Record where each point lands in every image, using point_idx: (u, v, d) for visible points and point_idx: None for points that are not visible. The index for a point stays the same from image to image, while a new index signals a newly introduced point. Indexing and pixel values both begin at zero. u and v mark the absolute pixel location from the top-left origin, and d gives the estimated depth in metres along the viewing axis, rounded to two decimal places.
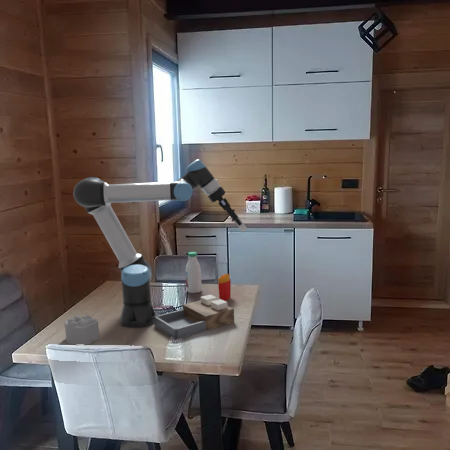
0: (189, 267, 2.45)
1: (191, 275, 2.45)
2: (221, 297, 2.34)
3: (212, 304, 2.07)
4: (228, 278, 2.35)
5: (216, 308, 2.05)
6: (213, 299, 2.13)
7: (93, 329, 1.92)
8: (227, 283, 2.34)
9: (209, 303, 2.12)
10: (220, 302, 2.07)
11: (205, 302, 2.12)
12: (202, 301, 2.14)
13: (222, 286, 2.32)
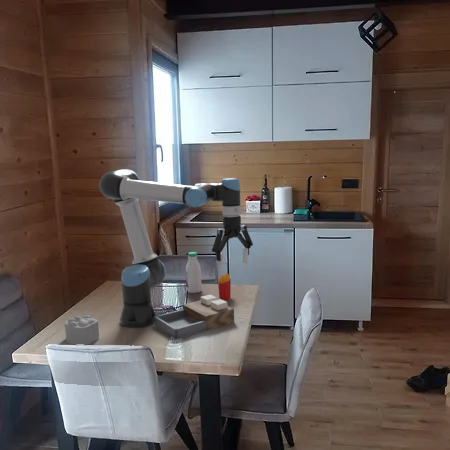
0: (189, 267, 2.45)
1: (191, 275, 2.45)
2: (221, 297, 2.34)
3: (212, 304, 2.07)
4: (228, 278, 2.35)
5: (216, 308, 2.05)
6: (213, 299, 2.13)
7: (93, 329, 1.92)
8: (227, 283, 2.34)
9: (209, 303, 2.12)
10: (220, 302, 2.07)
11: (205, 302, 2.12)
12: (202, 301, 2.14)
13: (222, 286, 2.32)
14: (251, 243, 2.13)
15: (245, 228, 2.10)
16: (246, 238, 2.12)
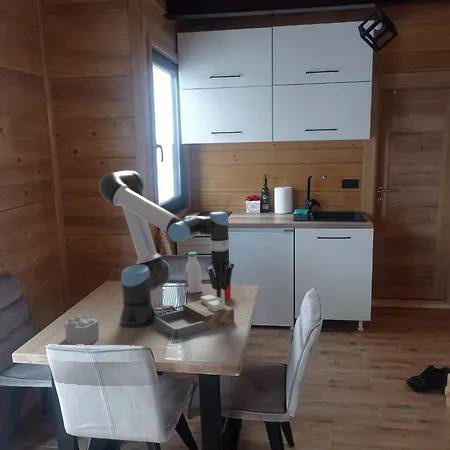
0: (189, 267, 2.45)
1: (191, 275, 2.45)
2: None
3: (208, 305, 2.06)
4: None
5: (213, 309, 2.04)
6: (213, 299, 2.13)
7: (93, 329, 1.92)
8: None
9: None
10: (217, 303, 2.06)
11: (205, 302, 2.12)
12: (202, 301, 2.14)
13: None
14: (228, 284, 2.08)
15: (232, 266, 2.08)
16: (227, 277, 2.09)
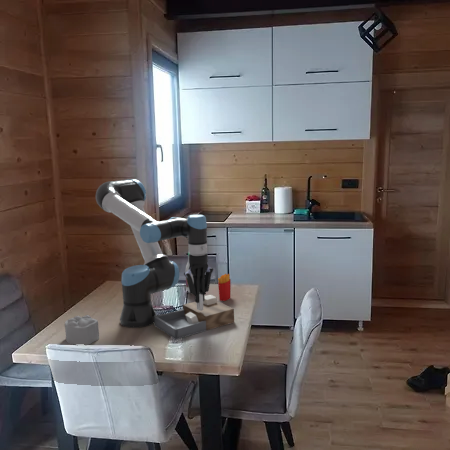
0: None
1: (191, 275, 2.45)
2: (221, 297, 2.34)
3: None
4: (228, 278, 2.35)
5: None
6: (213, 299, 2.13)
7: (93, 329, 1.92)
8: (227, 283, 2.34)
9: (209, 303, 2.12)
10: (191, 322, 1.99)
11: (205, 302, 2.12)
12: None
13: (222, 286, 2.32)
14: (207, 289, 2.02)
15: (211, 271, 2.02)
16: (205, 281, 2.03)
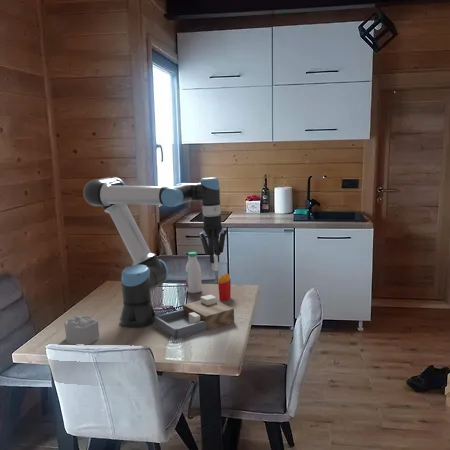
0: (189, 267, 2.45)
1: (191, 275, 2.45)
2: (221, 297, 2.34)
3: None
4: (228, 278, 2.35)
5: None
6: (213, 299, 2.13)
7: (93, 329, 1.92)
8: (227, 283, 2.34)
9: (209, 303, 2.12)
10: (193, 321, 2.00)
11: (205, 302, 2.12)
12: (202, 301, 2.14)
13: (222, 286, 2.32)
14: (222, 250, 2.09)
15: (225, 232, 2.09)
16: (220, 243, 2.10)
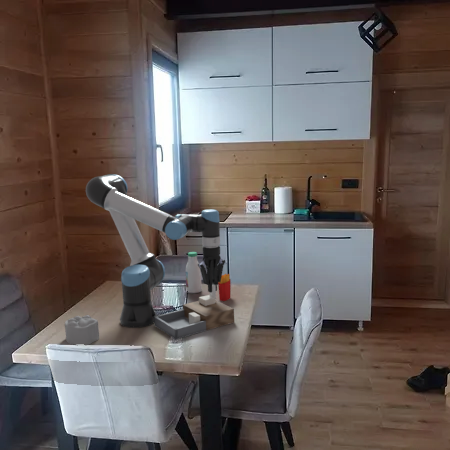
0: (189, 267, 2.45)
1: (191, 275, 2.45)
2: (221, 297, 2.34)
3: None
4: (228, 278, 2.35)
5: None
6: (211, 299, 2.12)
7: (93, 329, 1.92)
8: (227, 283, 2.34)
9: (207, 303, 2.11)
10: (193, 321, 2.00)
11: (203, 303, 2.11)
12: (200, 302, 2.13)
13: (222, 286, 2.32)
14: (219, 279, 2.15)
15: (223, 262, 2.15)
16: (218, 272, 2.16)
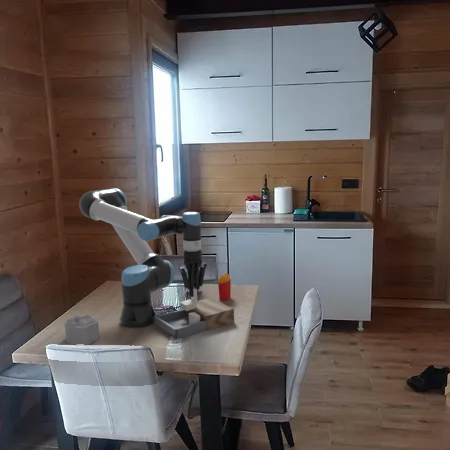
0: None
1: None
2: (221, 297, 2.34)
3: None
4: (228, 278, 2.35)
5: None
6: (193, 304, 2.07)
7: (93, 329, 1.92)
8: (227, 283, 2.34)
9: (189, 308, 2.06)
10: (193, 321, 2.00)
11: (184, 308, 2.06)
12: (181, 307, 2.08)
13: (222, 286, 2.32)
14: (201, 283, 2.10)
15: (205, 266, 2.10)
16: (199, 276, 2.10)
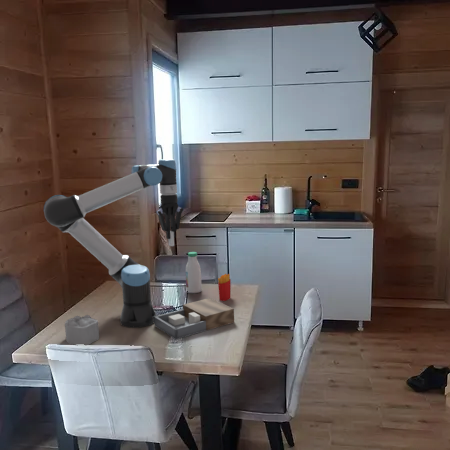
0: (189, 267, 2.45)
1: (191, 275, 2.45)
2: (221, 297, 2.34)
3: None
4: (228, 278, 2.35)
5: None
6: (178, 323, 2.04)
7: (93, 329, 1.92)
8: (227, 283, 2.34)
9: (182, 319, 2.05)
10: (193, 321, 2.00)
11: None
12: None
13: (222, 286, 2.32)
14: (178, 227, 2.25)
15: (181, 210, 2.25)
16: (176, 220, 2.25)
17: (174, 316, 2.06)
